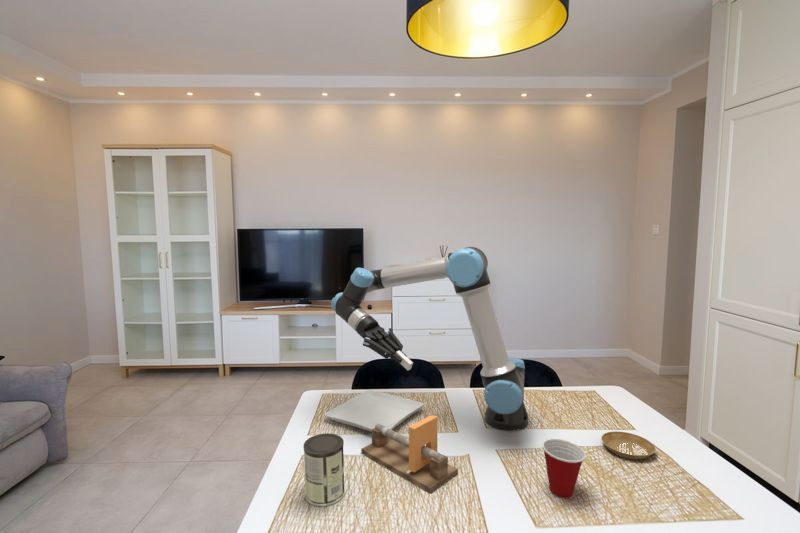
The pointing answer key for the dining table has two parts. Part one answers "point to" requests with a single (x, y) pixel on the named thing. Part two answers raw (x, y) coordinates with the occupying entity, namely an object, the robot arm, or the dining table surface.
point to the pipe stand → (395, 457)
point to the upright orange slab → (422, 441)
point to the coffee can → (324, 469)
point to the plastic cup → (562, 465)
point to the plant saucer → (617, 438)
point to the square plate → (374, 410)
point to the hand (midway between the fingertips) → (410, 366)
